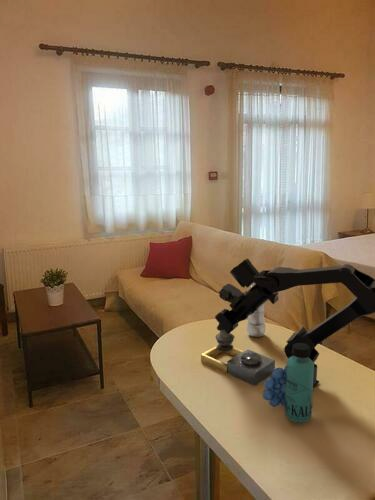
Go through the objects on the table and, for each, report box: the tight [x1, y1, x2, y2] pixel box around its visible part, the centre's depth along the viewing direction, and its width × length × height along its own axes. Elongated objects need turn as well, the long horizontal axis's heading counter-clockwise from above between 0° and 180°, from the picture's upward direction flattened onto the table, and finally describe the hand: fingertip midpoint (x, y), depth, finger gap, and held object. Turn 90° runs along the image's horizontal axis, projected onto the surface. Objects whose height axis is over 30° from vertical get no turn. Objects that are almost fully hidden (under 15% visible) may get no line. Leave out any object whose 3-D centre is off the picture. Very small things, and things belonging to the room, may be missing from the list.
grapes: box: [262, 364, 287, 408], centre depth 101 cm, size 12×7×12 cm, turn 96°
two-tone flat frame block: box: [200, 345, 276, 387], centre depth 120 cm, size 21×11×5 cm, turn 44°
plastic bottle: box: [246, 283, 266, 338], centre depth 139 cm, size 6×7×20 cm
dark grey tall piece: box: [215, 330, 235, 352], centre depth 122 cm, size 6×6×12 cm
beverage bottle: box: [283, 343, 315, 423], centre depth 94 cm, size 6×7×20 cm
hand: (220, 326), depth 122 cm, fingers closed on dark grey tall piece, 4 cm apart
